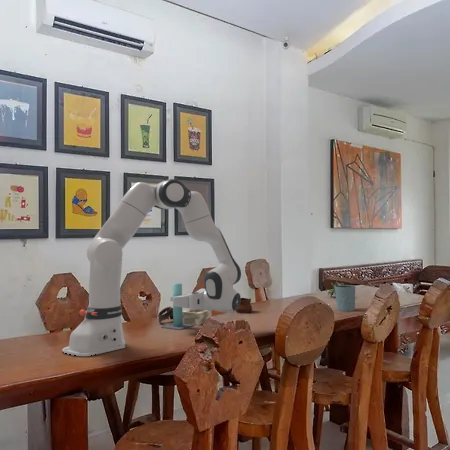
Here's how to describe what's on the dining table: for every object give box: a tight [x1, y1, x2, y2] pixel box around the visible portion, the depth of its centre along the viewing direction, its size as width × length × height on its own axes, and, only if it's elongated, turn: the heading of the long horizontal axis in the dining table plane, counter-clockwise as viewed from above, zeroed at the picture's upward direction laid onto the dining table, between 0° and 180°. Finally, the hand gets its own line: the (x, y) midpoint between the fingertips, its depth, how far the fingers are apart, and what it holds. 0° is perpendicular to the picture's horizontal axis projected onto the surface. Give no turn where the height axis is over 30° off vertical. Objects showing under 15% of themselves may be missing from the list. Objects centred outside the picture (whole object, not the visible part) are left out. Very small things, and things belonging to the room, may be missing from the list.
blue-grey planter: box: [335, 284, 356, 312], centre depth 228 cm, size 10×10×12 cm
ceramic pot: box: [235, 297, 253, 314], centre depth 227 cm, size 18×18×7 cm
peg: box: [172, 282, 183, 327], centre depth 194 cm, size 4×4×18 cm
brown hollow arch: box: [157, 306, 173, 324], centre depth 204 cm, size 12×10×8 cm
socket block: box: [182, 309, 213, 326], centre depth 204 cm, size 10×10×5 cm
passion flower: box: [325, 281, 346, 298], centre depth 269 cm, size 11×11×12 cm
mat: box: [160, 323, 195, 331], centre depth 194 cm, size 10×10×1 cm
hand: (178, 297), depth 194 cm, fingers open, 8 cm apart
